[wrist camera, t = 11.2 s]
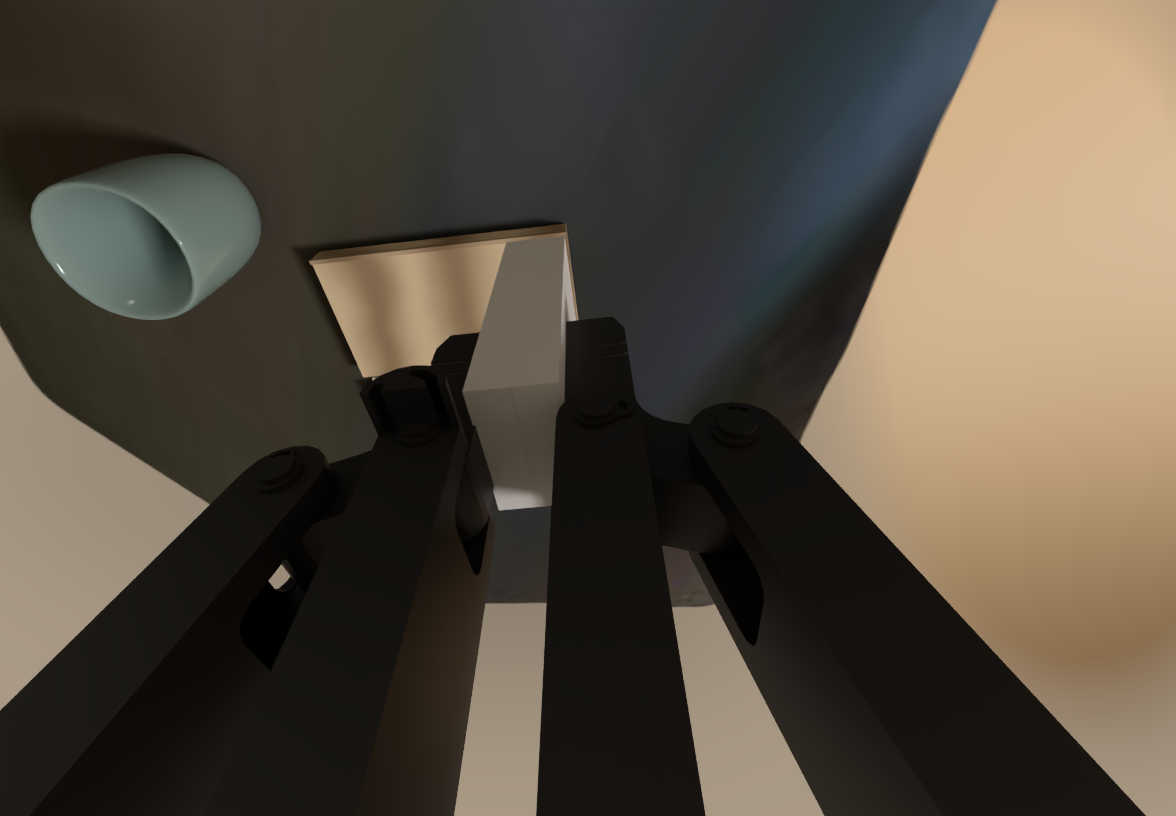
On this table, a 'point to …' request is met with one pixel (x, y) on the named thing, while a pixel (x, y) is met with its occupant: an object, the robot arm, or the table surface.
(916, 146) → the table surface
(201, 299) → the cup
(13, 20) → the table surface
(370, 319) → the loose plank
